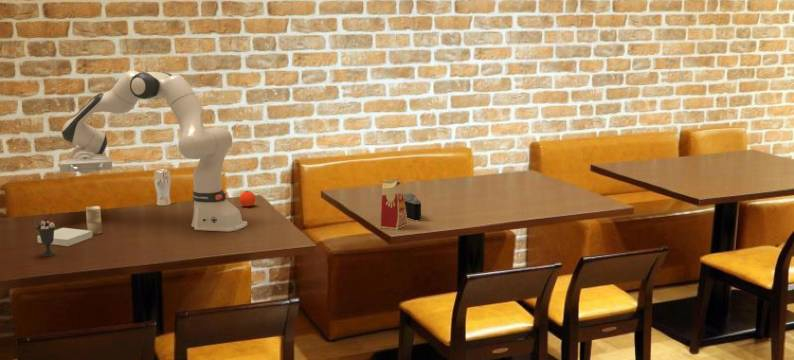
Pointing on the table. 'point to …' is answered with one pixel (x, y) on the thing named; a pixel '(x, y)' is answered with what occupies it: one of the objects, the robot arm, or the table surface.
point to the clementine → (247, 198)
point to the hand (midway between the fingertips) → (87, 169)
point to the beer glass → (162, 186)
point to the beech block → (94, 219)
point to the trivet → (69, 236)
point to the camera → (412, 206)
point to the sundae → (47, 234)
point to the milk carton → (393, 205)
